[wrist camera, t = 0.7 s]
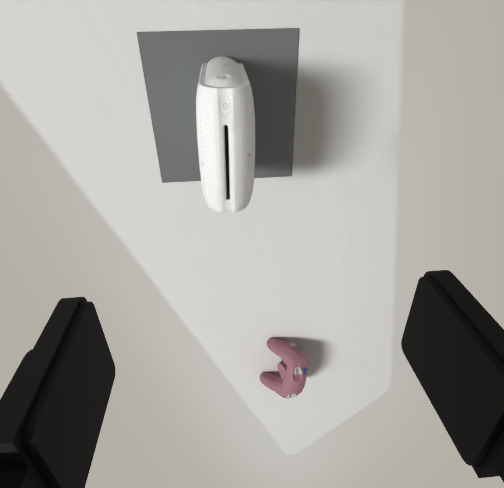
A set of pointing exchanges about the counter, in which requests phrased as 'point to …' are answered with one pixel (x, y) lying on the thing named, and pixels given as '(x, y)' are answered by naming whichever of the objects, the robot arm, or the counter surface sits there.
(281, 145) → the dark gray panel
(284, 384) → the video game controller
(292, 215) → the counter surface
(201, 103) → the photo printer
